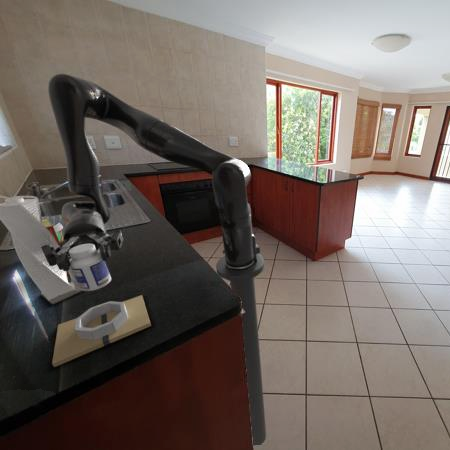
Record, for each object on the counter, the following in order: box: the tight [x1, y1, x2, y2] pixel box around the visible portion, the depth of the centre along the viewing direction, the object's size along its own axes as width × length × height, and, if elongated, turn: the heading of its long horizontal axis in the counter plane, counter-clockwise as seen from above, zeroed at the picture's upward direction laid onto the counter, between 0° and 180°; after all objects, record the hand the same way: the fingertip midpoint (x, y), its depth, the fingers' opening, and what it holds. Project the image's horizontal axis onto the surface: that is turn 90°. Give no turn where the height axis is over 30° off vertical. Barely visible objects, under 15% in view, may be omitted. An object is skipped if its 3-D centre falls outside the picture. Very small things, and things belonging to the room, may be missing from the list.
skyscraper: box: [0, 195, 84, 305], centre depth 58 cm, size 8×8×28 cm
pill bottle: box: [69, 244, 112, 292], centre depth 49 cm, size 5×5×9 cm
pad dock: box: [51, 294, 152, 368], centre depth 53 cm, size 16×12×4 cm
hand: (85, 261), depth 46 cm, fingers closed on pill bottle, 5 cm apart
